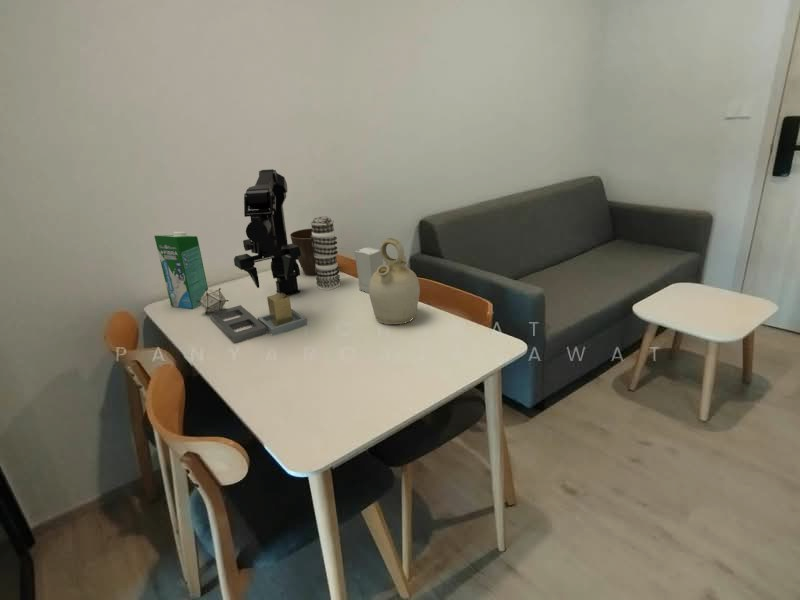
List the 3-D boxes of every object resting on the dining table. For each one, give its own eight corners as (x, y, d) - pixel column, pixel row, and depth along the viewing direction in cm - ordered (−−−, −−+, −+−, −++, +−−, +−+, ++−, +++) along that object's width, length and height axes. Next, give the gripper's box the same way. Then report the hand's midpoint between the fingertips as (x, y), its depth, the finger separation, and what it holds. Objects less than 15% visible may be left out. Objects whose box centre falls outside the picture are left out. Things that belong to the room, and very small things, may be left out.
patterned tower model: (311, 285, 179) (303, 218, 169) (332, 279, 184) (325, 214, 175) (324, 292, 172) (317, 222, 163) (346, 285, 178) (340, 217, 168)
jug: (393, 332, 140) (388, 249, 130) (360, 317, 151) (354, 239, 141) (431, 316, 149) (429, 237, 140) (397, 303, 160) (394, 228, 151)
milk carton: (210, 299, 171) (196, 229, 161) (192, 309, 163) (176, 236, 153) (189, 297, 174) (174, 228, 164) (171, 306, 166) (153, 235, 156)
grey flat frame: (241, 310, 160) (240, 305, 159) (267, 333, 143) (266, 327, 142) (210, 319, 154) (209, 313, 154) (234, 343, 138) (232, 337, 137)
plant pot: (337, 266, 199) (333, 227, 193) (328, 278, 185) (324, 238, 179) (301, 266, 200) (296, 228, 194) (290, 279, 187) (285, 238, 181)
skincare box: (386, 290, 171) (383, 250, 165) (373, 295, 167) (370, 254, 161) (370, 285, 177) (367, 245, 171) (357, 290, 173) (354, 249, 167)
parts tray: (291, 313, 156) (290, 308, 155) (306, 324, 148) (306, 318, 147) (258, 323, 150) (257, 317, 149) (272, 335, 142) (271, 329, 141)
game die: (222, 320, 163) (237, 294, 162) (210, 322, 154) (225, 295, 153) (201, 306, 163) (215, 280, 163) (187, 307, 155) (202, 280, 154)
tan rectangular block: (286, 317, 152) (282, 292, 149) (293, 322, 148) (289, 297, 145) (271, 322, 149) (267, 296, 146) (277, 327, 145) (273, 301, 142)
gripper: (283, 222, 150) (289, 269, 156) (223, 233, 140) (232, 284, 146) (299, 228, 142) (305, 278, 148) (236, 241, 132) (246, 294, 138)
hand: (272, 283), depth 145 cm, fingers open, 9 cm apart
